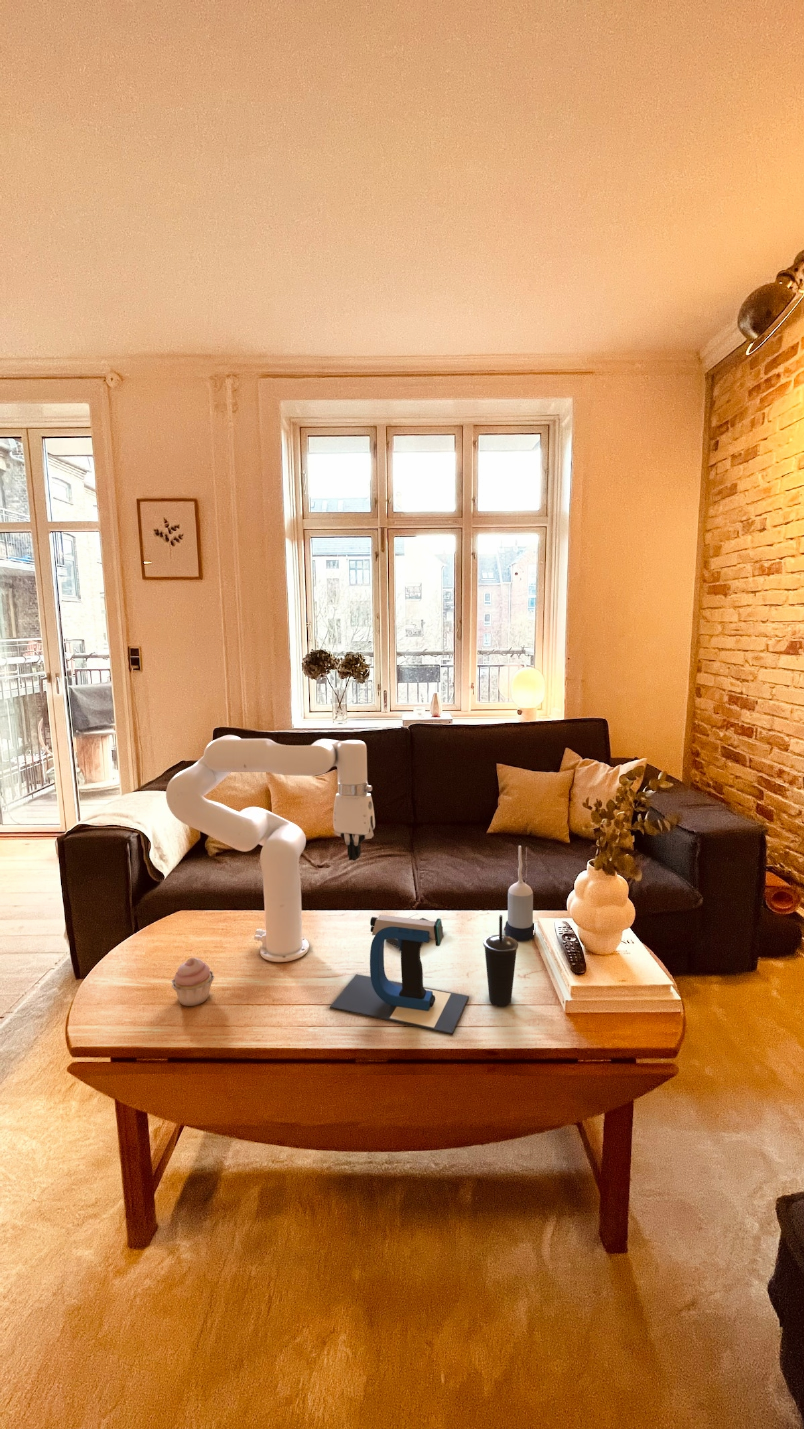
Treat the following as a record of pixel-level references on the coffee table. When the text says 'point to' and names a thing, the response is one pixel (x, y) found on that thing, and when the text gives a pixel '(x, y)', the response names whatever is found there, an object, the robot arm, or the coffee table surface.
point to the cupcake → (193, 982)
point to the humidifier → (520, 909)
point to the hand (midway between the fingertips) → (354, 858)
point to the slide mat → (368, 1003)
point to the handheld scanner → (403, 959)
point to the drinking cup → (500, 966)
